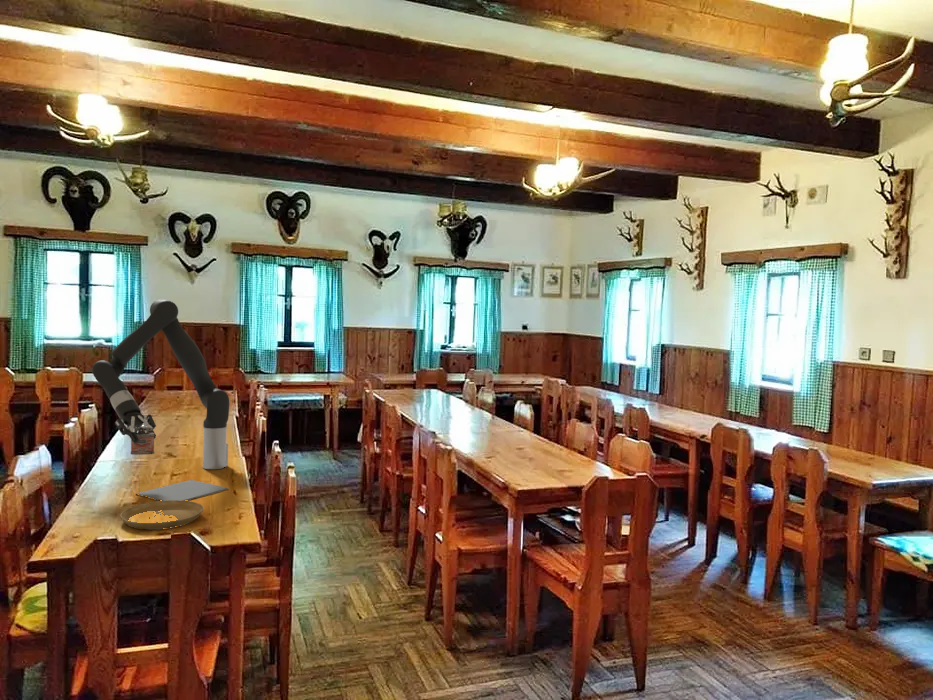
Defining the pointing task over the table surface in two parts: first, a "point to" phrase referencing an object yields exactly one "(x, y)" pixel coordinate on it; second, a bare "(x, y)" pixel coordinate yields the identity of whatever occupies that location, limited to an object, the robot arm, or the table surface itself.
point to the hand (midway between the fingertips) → (145, 440)
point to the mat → (183, 491)
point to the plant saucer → (177, 508)
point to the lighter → (143, 442)
